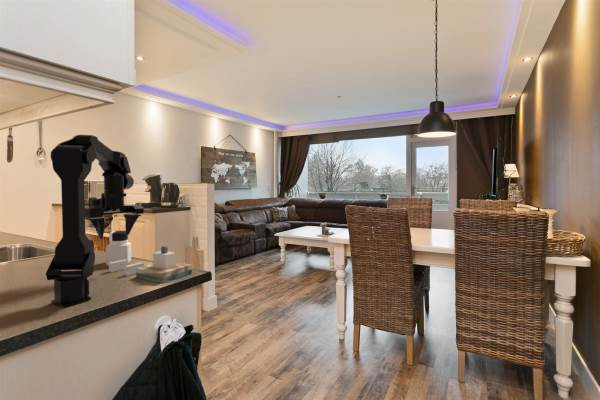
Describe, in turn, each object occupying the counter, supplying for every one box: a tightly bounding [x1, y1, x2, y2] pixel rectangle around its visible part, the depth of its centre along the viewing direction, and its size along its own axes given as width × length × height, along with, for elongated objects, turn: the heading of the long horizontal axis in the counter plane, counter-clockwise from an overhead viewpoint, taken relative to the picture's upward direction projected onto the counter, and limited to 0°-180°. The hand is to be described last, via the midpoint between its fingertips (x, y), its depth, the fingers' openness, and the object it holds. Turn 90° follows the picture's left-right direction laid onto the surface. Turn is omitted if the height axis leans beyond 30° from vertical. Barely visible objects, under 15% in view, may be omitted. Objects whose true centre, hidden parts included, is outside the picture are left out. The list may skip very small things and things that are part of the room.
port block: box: [135, 261, 193, 284], centre depth 106 cm, size 12×12×3 cm
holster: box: [108, 259, 145, 277], centre depth 110 cm, size 6×10×3 cm, turn 63°
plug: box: [152, 245, 177, 270], centre depth 106 cm, size 4×6×8 cm, turn 63°
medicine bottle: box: [105, 230, 132, 267], centre depth 121 cm, size 7×7×12 cm
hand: (114, 236), depth 109 cm, fingers open, 9 cm apart
